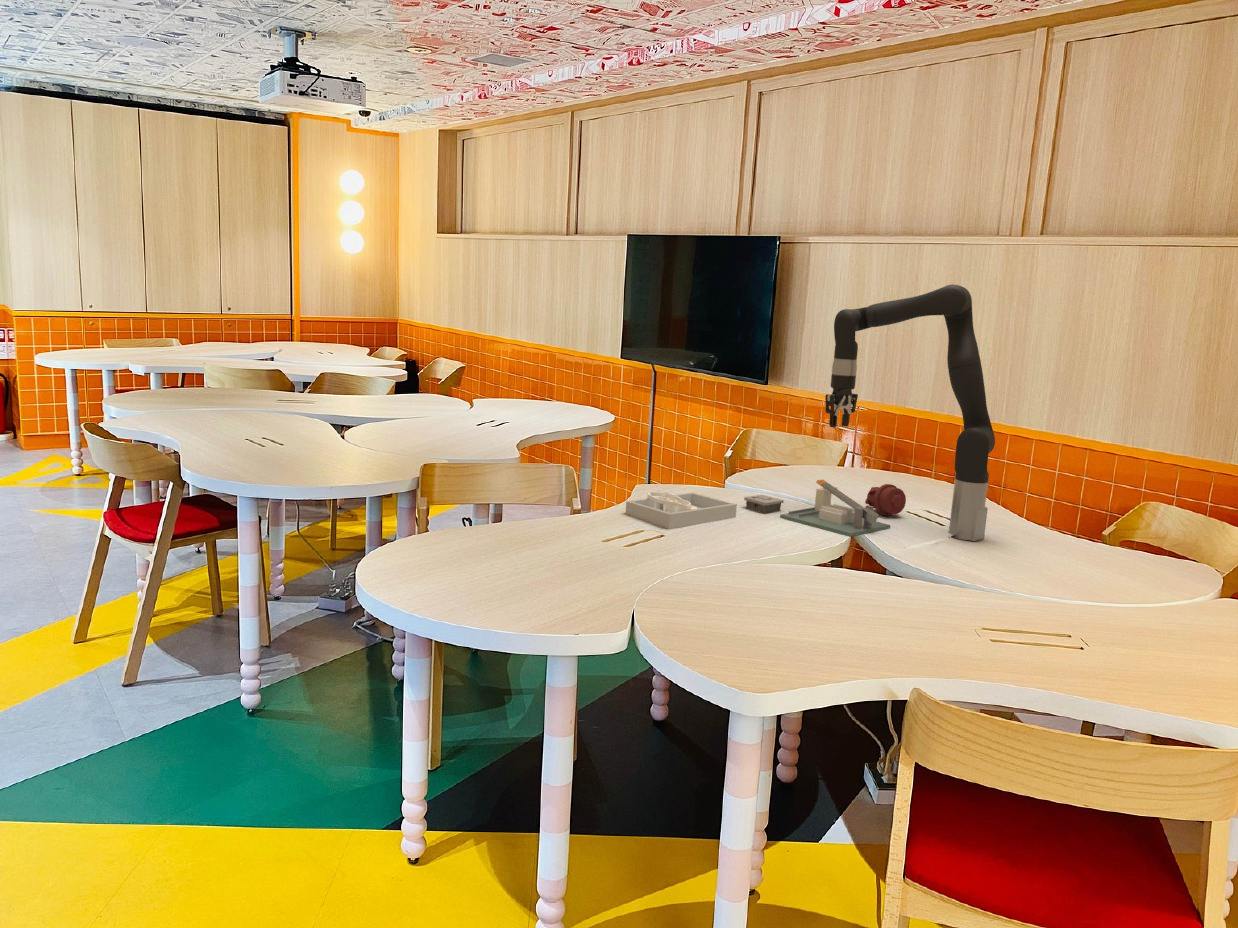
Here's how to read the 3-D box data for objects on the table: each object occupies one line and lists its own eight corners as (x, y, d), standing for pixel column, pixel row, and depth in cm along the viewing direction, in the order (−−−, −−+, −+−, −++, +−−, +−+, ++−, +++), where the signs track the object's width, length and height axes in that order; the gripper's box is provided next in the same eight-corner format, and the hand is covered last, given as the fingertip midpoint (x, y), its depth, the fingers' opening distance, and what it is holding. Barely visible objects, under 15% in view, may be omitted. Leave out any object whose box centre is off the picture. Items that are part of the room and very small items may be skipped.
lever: (876, 521, 276) (879, 514, 275) (869, 522, 274) (872, 515, 273) (821, 483, 290) (824, 477, 289) (814, 484, 288) (817, 478, 287)
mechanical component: (859, 512, 304) (860, 482, 303) (883, 511, 308) (884, 481, 307) (885, 518, 293) (886, 486, 292) (909, 516, 297) (911, 485, 296)
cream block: (835, 512, 296) (837, 487, 294) (827, 513, 293) (829, 488, 292) (822, 508, 299) (824, 484, 298) (814, 510, 297) (816, 485, 295)
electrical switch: (742, 497, 297) (761, 489, 302) (743, 512, 298) (762, 504, 304) (765, 503, 290) (784, 495, 295) (765, 518, 291) (785, 510, 297)
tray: (735, 518, 285) (736, 504, 284) (669, 529, 266) (670, 514, 266) (691, 505, 299) (692, 492, 298) (625, 515, 280) (626, 501, 280)
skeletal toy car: (701, 529, 275) (703, 504, 273) (666, 530, 271) (668, 505, 270) (674, 514, 293) (675, 491, 292) (641, 514, 289) (642, 491, 288)
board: (890, 528, 282) (892, 505, 281) (850, 536, 269) (852, 512, 268) (820, 510, 301) (822, 489, 300) (780, 517, 288) (781, 495, 287)
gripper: (839, 375, 287) (834, 429, 289) (867, 374, 296) (862, 427, 299) (820, 372, 292) (815, 426, 295) (847, 372, 301) (842, 424, 304)
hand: (838, 426), depth 297 cm, fingers open, 5 cm apart
